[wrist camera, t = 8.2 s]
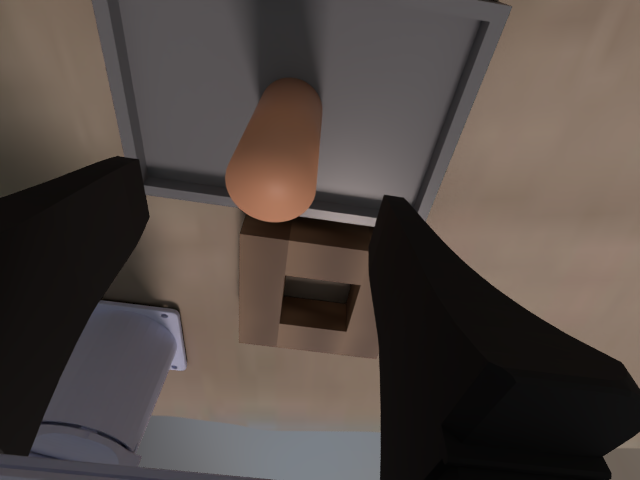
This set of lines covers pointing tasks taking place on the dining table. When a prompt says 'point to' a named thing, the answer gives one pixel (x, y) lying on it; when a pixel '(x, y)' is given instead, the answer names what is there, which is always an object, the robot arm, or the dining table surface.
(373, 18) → the tray
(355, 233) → the socket block
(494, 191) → the dining table surface
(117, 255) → the robot arm
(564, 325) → the dining table surface
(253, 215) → the pin
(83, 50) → the dining table surface
